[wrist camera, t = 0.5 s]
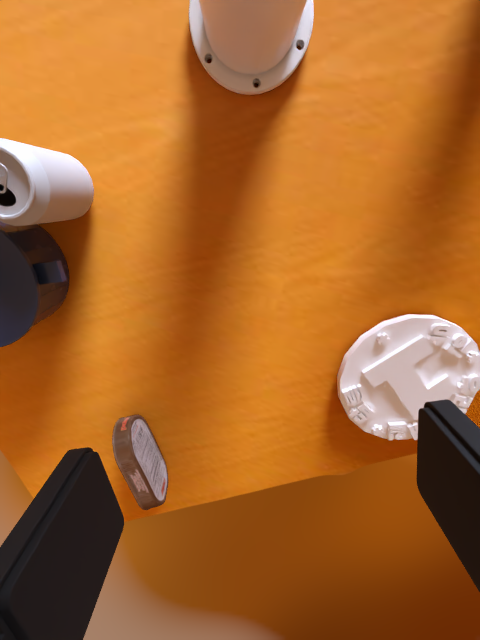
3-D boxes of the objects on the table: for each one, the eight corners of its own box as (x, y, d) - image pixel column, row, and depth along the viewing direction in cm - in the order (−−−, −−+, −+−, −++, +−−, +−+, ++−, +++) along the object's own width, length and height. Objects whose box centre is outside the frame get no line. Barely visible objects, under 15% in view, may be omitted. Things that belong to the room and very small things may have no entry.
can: (29, 204, 40) (-53, 207, 29) (41, 141, 38) (-44, 118, 27) (88, 229, 41) (31, 240, 30) (103, 169, 39) (47, 158, 28)
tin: (123, 406, 51) (101, 445, 43) (142, 402, 50) (123, 440, 43) (158, 478, 56) (144, 523, 48) (175, 474, 56) (164, 519, 48)
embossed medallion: (467, 294, 44) (482, 301, 41) (476, 411, 51) (490, 423, 48) (321, 335, 46) (326, 344, 44) (349, 442, 53) (354, 455, 50)
